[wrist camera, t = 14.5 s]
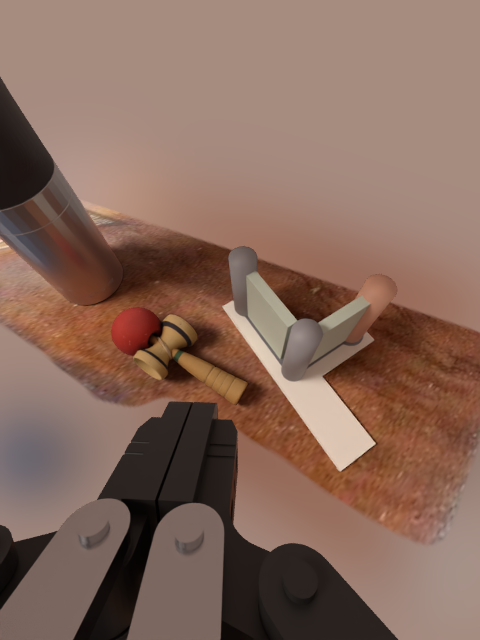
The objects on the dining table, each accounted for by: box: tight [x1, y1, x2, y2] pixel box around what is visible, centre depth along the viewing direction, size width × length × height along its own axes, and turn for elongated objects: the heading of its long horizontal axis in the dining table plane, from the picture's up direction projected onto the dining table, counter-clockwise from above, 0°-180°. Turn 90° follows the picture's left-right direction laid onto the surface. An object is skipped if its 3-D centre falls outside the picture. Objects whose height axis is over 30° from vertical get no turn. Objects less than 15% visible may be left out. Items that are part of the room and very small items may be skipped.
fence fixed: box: [228, 246, 323, 382], centre depth 34 cm, size 13×3×11 cm, turn 33°
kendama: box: [111, 307, 248, 405], centre depth 36 cm, size 8×6×18 cm
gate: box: [309, 274, 397, 364], centre depth 33 cm, size 9×3×10 cm, turn 122°
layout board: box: [222, 300, 376, 472], centre depth 38 cm, size 24×14×1 cm, turn 33°
